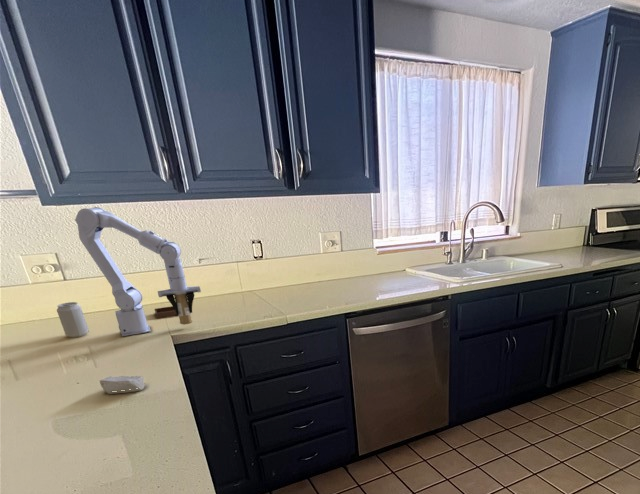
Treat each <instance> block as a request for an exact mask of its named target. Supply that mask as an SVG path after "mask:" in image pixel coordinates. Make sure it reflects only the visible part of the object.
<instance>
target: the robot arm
mask: <svg viewBox="0 0 640 494" xmlns="http://www.w3.org/2000/svg"><path fill="white" fill-rule="evenodd" d="M74 221H75V223H76V224H77V230H78V231H77V232H78V238H79V240H80V242H81V243H82V245H83V246H84V248H85V249H86V251H87V252H88V253H89V255H90V257H91V258H92V260H93V261H94V263H95V264H96V265H97V267H98V268H99V270H100V271H101V273H102V274H103V276H104V278H105V279H106V281H107V282H108V283H109V285H110V287H111V294H112V296H113V297H114V301H115V304H116V306H117V307H118V308H119V309H118V310H115V311H114V312H115V317H116V320H117V324H118V329H119V331H120V334H121V337H127V336H134V335H138V334H145V333H151V328H150V325H149V324H148V321H147V317H146V314H145V310H144V307H143V304H142V301H143V294H142V292H141V290H139V289H137V288H136V287H135V286H134V285H133V283H131V282H130V281H128V280H127V279H126V278H125V275H124V274H123V273H122V271H121V269H120V268H119V267H118V265H117V264H116V262H115V260H114V259H113V258H112V256H111V254H110V253H109V251H108V250H107V248H106V247H105V245H104V243H103V242H102V241H101V240H100V238H101V235H102V232H103V230H104V229H105V228H108V229H109V228H111V229H115V230H117V231H119V232H121V233H123V234H125V235H128V236H130V237H132V238H133V239H136V240H137V242H138V243H139V245H140V246H142V247H144V249H145V248H146V249H148V250H149V251H151V252H153V253H155V254H157V255H159V256H160V257H161V259H163V263H164V267H165V272H166V276H167V280H168V285H169V288H168V289H162V290H157V295H158V298H162V297H165V298H166V299H167V300H168V302H169V303H170V304H171V306H173V307H174V309H175V311H176V314H177V316H179V313H178V310H177V307H176V302H175V297H174V293H182V292H186V296H187V300H188V304H189V309H190V313H191V314H192V313H193V304H194V300H195V293H201V292H202V290H201V286H198V285H197V286H188V285H187V280H186V276H185V271H184V266H183V263H182V259H181V254H182V250H181V247H180V245H178V244H177V243H175V242H174V241H169V239H167V238H163V237H160V236H159V235H157V234H155V233H156V232H155V231H154V230H147V229H146V230H141V229H139V228H137V227H136V226H134V225H132V224H130V223H129V222H127V221H125V220H123V219H122V218H121V217H119V216H117V215H116V214H113V213H112V212H111V211H108V210H105V209H103V208H101V207H98V206H95V207H91V208H90V207H89V208H86V207H85V208H81V209H80V210H79V211H78V212H77V213H76V216H75V219H74Z"/></svg>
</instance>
